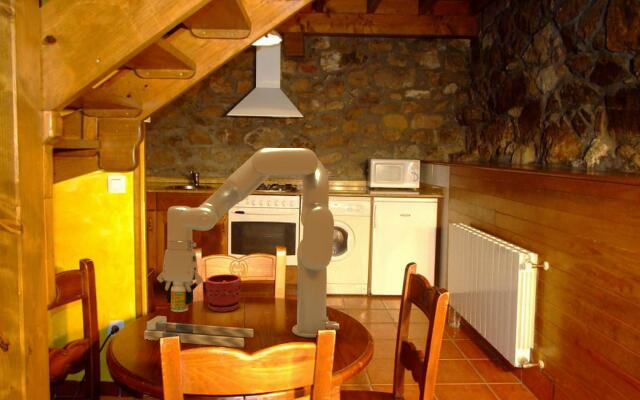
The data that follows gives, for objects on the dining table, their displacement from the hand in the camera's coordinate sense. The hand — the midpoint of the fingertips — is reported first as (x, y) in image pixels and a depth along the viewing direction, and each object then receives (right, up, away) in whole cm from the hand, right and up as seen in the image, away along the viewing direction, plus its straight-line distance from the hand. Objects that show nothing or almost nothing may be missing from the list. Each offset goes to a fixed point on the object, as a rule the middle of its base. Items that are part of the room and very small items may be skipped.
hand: (179, 302), depth 162 cm
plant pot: (+8, -9, +33) cm, 35 cm away
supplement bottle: (0, -3, 0) cm, 3 cm away
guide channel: (+6, -11, 0) cm, 13 cm away
